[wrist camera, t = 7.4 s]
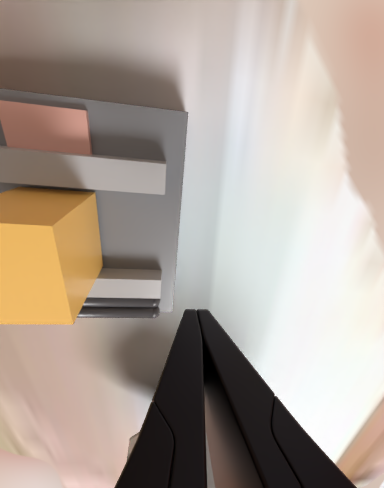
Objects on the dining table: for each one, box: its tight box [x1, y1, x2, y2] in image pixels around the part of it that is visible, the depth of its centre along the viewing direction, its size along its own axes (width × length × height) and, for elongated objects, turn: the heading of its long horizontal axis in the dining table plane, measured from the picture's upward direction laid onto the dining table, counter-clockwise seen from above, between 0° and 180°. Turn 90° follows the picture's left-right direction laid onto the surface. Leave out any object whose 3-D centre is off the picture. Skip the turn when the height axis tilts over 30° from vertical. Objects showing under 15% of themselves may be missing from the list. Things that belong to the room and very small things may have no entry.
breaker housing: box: [0, 88, 188, 318], centre depth 13 cm, size 22×14×3 cm, turn 84°
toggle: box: [0, 187, 103, 324], centre depth 11 cm, size 4×5×5 cm
